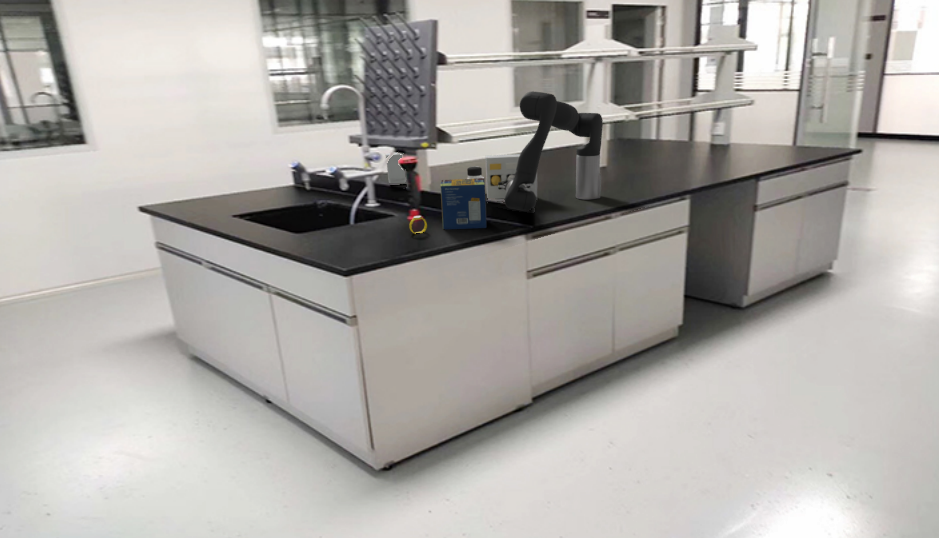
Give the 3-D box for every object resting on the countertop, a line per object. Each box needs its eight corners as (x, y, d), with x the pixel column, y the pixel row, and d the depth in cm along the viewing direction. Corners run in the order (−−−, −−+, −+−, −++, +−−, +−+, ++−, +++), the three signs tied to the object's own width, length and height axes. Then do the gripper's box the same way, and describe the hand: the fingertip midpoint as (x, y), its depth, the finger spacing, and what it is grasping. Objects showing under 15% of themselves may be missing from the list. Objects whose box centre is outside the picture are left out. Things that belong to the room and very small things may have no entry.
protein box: (443, 222, 222) (441, 179, 217) (486, 220, 222) (484, 177, 217) (442, 230, 212) (439, 185, 207) (487, 228, 212) (485, 183, 207)
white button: (515, 181, 248) (515, 173, 247) (516, 184, 244) (516, 175, 243) (506, 182, 248) (506, 173, 247) (507, 184, 244) (507, 175, 243)
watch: (412, 236, 207) (410, 219, 205) (409, 234, 210) (407, 217, 208) (428, 232, 210) (426, 215, 208) (425, 230, 212) (423, 214, 210)
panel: (535, 197, 253) (535, 153, 247) (537, 200, 247) (537, 155, 241) (487, 199, 253) (485, 155, 247) (487, 203, 247) (486, 158, 241)
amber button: (499, 182, 248) (499, 173, 247) (500, 185, 244) (500, 176, 243) (490, 183, 248) (490, 174, 247) (491, 185, 244) (491, 176, 243)
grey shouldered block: (405, 182, 293) (403, 151, 288) (407, 185, 288) (404, 153, 283) (388, 184, 292) (385, 153, 287) (389, 186, 286) (386, 154, 281)
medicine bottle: (482, 197, 258) (481, 168, 254) (465, 197, 259) (464, 168, 255) (485, 193, 264) (484, 165, 260) (468, 193, 266) (467, 165, 262)
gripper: (534, 178, 224) (529, 170, 241) (498, 180, 224) (495, 172, 241) (534, 199, 227) (529, 189, 243) (498, 200, 227) (495, 190, 243)
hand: (512, 180), depth 242 cm, fingers closed
